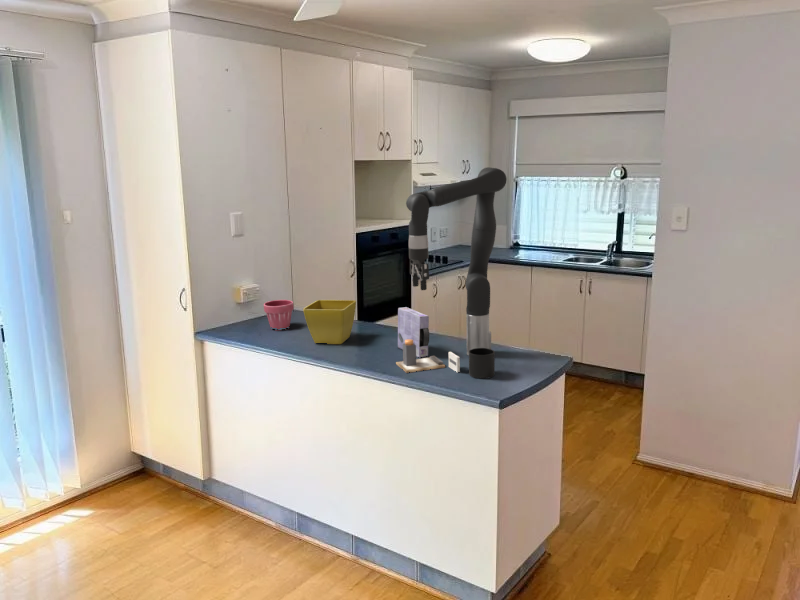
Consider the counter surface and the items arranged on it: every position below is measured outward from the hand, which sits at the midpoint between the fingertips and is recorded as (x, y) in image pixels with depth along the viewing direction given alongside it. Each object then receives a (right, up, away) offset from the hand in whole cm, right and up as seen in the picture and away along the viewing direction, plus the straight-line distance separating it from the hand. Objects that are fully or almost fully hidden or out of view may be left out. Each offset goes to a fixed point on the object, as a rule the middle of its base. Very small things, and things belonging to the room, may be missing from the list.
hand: (419, 288), depth 253 cm
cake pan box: (-2, -27, +20) cm, 34 cm away
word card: (+13, -31, -4) cm, 34 cm away
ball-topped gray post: (-4, -30, +1) cm, 30 cm away
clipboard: (0, -30, +2) cm, 30 cm away
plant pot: (-66, -19, +66) cm, 96 cm away
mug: (+24, -32, -10) cm, 41 cm away
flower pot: (-38, -23, +42) cm, 61 cm away
